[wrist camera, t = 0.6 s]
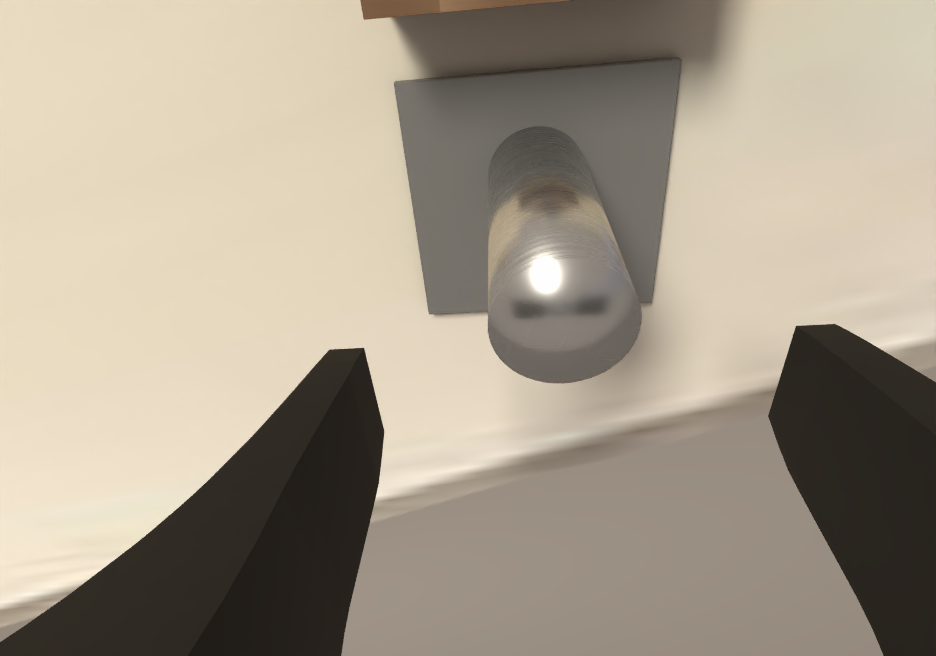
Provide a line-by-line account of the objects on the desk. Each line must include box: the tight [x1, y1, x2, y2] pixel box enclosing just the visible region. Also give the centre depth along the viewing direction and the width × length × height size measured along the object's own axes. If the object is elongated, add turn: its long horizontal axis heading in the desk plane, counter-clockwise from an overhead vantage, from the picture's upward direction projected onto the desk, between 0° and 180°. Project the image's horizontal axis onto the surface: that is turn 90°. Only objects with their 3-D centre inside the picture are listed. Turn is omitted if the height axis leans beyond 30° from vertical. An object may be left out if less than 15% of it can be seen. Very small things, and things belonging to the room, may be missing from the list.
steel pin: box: [488, 126, 641, 383], centre depth 15 cm, size 3×3×8 cm
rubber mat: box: [394, 57, 681, 314], centre depth 18 cm, size 8×8×1 cm
